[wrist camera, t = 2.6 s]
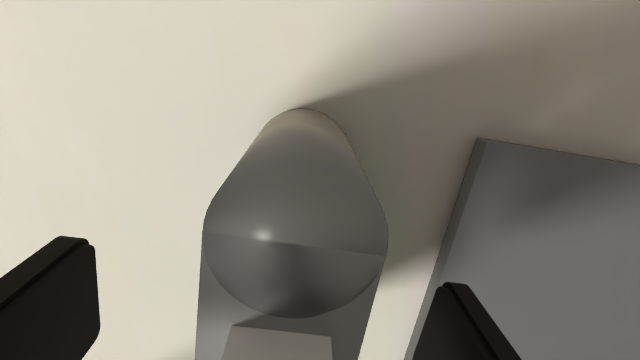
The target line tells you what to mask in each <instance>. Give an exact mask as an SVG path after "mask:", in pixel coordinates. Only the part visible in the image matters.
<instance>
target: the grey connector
mask: <svg viewBox="0 0 640 360" xmlns="http://www.w3.org/2000/svg"><path fill="white" fill-rule="evenodd" d="M387 247H388V229H387V223H386V219H385V215H384V212H383V210H382V207H381V205H380V203H379V201H378V199H377V197H376V195H375V193H374V191H373V189H372V187H371V185H370V183H369V181H368V179H367V177H366V175H365V173H364V171H363V169H362V167H361V165H360V163H359V161H358V159H357V157H356V155H355V153H354V151H353V149H352V147H351V145H350V143H349V141H348V139H347V137H346V135H345V133H344V131H343V130H342V129H341V127H340V126H339V125H338V124H337V123H336V122H335V121H334V120H333V119H331V118H330V117H329V116H327V115H325V114H323V113H321V112H318V111H315V110H311V109H294V110H289V111H286V112H283V113H281V114H279V115H277V116H276V117H274V118H273V119H271V120H270V121H269V122H268V123H267V124H266V125H265V126H264V128H263V129H262V130H261V132H260V133H259V135H258V136H257V137H256V139H255V140H254V141H253V143H252V144H251V146H250V147H249V148H248V150H247V151H246V153H245V154H244V155H243V157H242V158H241V160H240V161H239V162H238V164H237V165H236V167H235V168H234V169H233V171H232V172H231V173H230V175H229V176H228V178H227V179H226V180H225V182H224V183H223V185H222V186H221V187H220V189H219V190H218V192H217V193H216V195H215V196H214V198H213V199H212V201H211V203H210V205H209V207H208V209H207V212H206V216H205V219H204V224H203V231H202V247H201V264H200V281H199V298H198V314H197V331H196V348H195V360H358V356H359V353H360V349H361V345H362V342H363V338H364V334H365V331H366V327H367V323H368V320H369V316H370V312H371V308H372V305H373V301H374V297H375V294H376V290H377V286H378V283H379V279H380V275H381V272H382V268H383V264H384V261H385V257H386V252H387Z"/></svg>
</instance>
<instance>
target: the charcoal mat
mask: <svg viewBox="0 0 640 360" xmlns="http://www.w3.org/2000/svg"><path fill="white" fill-rule="evenodd" d="M445 282H454V283H462V284H467V285H468V286H469V287H470V288H471V290H472V291H473V293H474V294H475V295H476V297H477V298H478V300H479V301H480V302H481V304H482V305H483V307H484V308H485V309H486V311H487V312H488V314H489V315H490V316H491V318H492V319H493V320H494V322H495V323H496V325H497V326H498V327H499V329H500V330H501V332H502V333H503V334H504V336H505V337H506V339H507V340H508V341H509V343H510V344H511V345H512V347H513V348H514V350H515V351H516V352H517V354H518V355H519V357H520V358H521V359H522V360H640V165H636V164H630V163H624V162H619V161H613V160H607V159H601V158H595V157H589V156H583V155H577V154H571V153H565V152H559V151H553V150H547V149H541V148H536V147H530V146H524V145H518V144H512V143H506V142H500V141H494V140H488V139H482V138H477V141H476V144H475V147H474V150H473V153H472V156H471V159H470V162H469V165H468V168H467V171H466V174H465V177H464V180H463V183H462V186H461V189H460V192H459V195H458V198H457V201H456V204H455V207H454V210H453V213H452V216H451V219H450V222H449V225H448V228H447V231H446V234H445V237H444V240H443V243H442V246H441V249H440V252H439V255H438V258H437V261H436V264H435V267H434V270H433V273H432V276H431V279H430V282H429V285H428V288H427V291H426V294H425V297H424V300H423V303H422V306H421V309H420V312H419V316H418V319H417V322H416V325H415V328H414V331H413V334H412V337H411V340H410V343H409V346H408V349H407V352H406V355H405V358H404V360H412V359H413V354H414V351H415V348H416V346H417V343H418V340H419V337H420V334H421V331H422V329H423V326H424V323H425V320H426V317H427V314H428V311H429V309H430V306H431V303H432V300H433V297H434V294H435V292H436V289H437V288H438V287H439V286H442V285H443V284H444V283H445Z"/></svg>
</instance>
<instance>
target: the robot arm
mask: <svg viewBox="0 0 640 360" xmlns="http://www.w3.org/2000/svg"><path fill="white" fill-rule="evenodd" d="M99 331H100V315H99V301H98V287H97V272H96V258H95V249H94V247H93V246H92V245H89V242H88V241H87V240H86V239H83V238H75V237H67V236H59V237H57V238H55V239H54V240H52V241H51V242H50V243H48V244H47V245H45V246H44V247H43V248H41V249H40V250H38V251H37V252H36V253H34V254H33V255H32V256H30V257H29V258H27V259H26V260H25V261H23V262H22V263H21V264H19V265H18V266H16V267H15V268H14V269H12V270H11V271H10V272H8V273H7V274H5V275H4V276H3V277H1V278H0V360H82V358H83V357H84V356H85V354H86V353H87V351H88V350H89V349H90V347H91V346H92V345H93V343H94V342H95V340H96V339H97V337H98V334H99ZM412 360H522V359H521V358H520V357H519V355H518V354H517V352H516V351H515V350H514V348H513V347H512V345H511V344H510V343H509V341H508V340H507V339H506V337H505V336H504V334H503V333H502V332H501V330H500V329H499V327H498V326H497V325H496V323H495V322H494V320H493V319H492V318H491V316H490V315H489V314H488V312H487V311H486V309H485V308H484V307H483V305H482V304H481V302H480V301H479V300H478V298H477V297H476V295H475V294H474V293H473V291H472V290H471V288H470V287H469V286H468V285H467V284H462V283H454V282H445V283H444V284H443V285H442V286H439V287H438V288H437V289H436V292H435V294H434V297H433V300H432V303H431V306H430V309H429V311H428V314H427V317H426V320H425V323H424V326H423V329H422V331H421V334H420V337H419V340H418V343H417V346H416V348H415V351H414V354H413V359H412Z"/></svg>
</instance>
